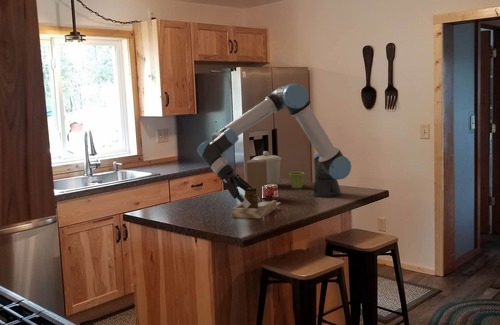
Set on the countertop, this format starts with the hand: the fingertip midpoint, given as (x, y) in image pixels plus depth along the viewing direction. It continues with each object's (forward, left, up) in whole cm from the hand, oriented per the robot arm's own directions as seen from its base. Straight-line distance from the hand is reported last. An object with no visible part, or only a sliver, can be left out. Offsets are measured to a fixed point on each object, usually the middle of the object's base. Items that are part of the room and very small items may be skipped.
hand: (253, 204), depth 237 cm
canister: (+22, -73, -5) cm, 76 cm away
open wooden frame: (+2, -5, -5) cm, 7 cm away
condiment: (+1, -1, -5) cm, 6 cm away
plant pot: (+2, -69, -5) cm, 69 cm away
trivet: (+2, -21, -5) cm, 22 cm away
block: (+14, -38, -5) cm, 41 cm away
